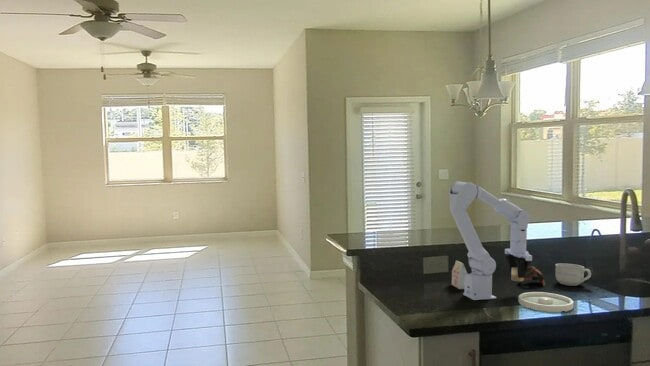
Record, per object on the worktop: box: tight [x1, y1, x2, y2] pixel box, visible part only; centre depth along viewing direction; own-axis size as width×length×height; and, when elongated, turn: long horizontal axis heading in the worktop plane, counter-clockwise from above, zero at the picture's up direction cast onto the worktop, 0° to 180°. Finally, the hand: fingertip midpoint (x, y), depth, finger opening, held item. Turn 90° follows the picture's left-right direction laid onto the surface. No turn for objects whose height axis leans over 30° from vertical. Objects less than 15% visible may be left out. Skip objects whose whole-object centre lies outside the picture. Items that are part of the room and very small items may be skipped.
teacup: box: [554, 262, 592, 287], centre depth 212 cm, size 14×11×8 cm
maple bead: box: [510, 267, 525, 282], centre depth 198 cm, size 4×4×4 cm
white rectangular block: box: [451, 260, 469, 290], centre depth 209 cm, size 4×7×10 cm, turn 11°
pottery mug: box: [518, 265, 546, 287], centre depth 215 cm, size 12×10×8 cm
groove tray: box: [518, 291, 575, 313], centre depth 185 cm, size 18×18×2 cm
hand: (517, 276), depth 198 cm, fingers closed on maple bead, 4 cm apart
